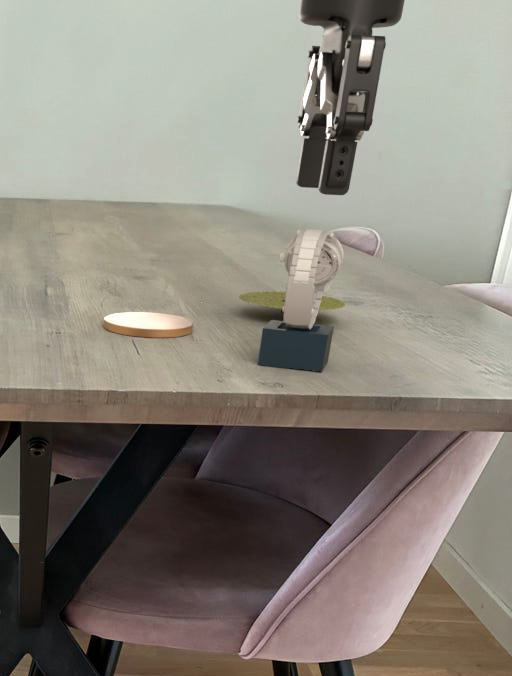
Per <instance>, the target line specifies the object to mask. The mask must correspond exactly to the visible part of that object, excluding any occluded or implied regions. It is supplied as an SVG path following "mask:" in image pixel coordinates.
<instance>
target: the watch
mask: <svg viewBox="0 0 512 676" xmlns="http://www.w3.org/2000/svg"><path fill="white" fill-rule="evenodd" d="M344 253H345V251H344V248H343V245H342V244H341V242H340V240H339V239H338V238H337V236H336V234H335V233H334V232H331V230H322V229H311V228H310V229H308V228H300V229H298V230H296V232H295V234H294V236H293V238H292V239H291V240H290V242H289V243H288V244H287V247H286V251H285V252H284V251H283V252H280V253H279V262H280V263H284V267H285V270H286V272H287V275H288V282H287V283H286V284H285V292H286V293H285V303H284V306H283V312H284V314H283V320H277V319H271V320H270V321H269V322H267V324H266V325H264V326H263V328H262V333H261V338H260V344H259V345H260V346H259V352H258V359H257V365H258V366H265V367H272V368H273V367H274V368H282V369H289V368H293V369H292V370H297V369H305V370H304V371H306V370H314V371H320V372H319V373H322V372H323V371H324V370H325V368H326V366H327V364H328V362H329V358H330V357H329V356H330V352H331V345H332V340H333V335H334V329H335V326H334V325H324V324H315V323H316V320H317V316H318V314H319V311H320V310H319V307H320V303H321V298H322V296H323V295H324V294H327V293H328V291H329V289H330V288H331V286H332V283H333V282H334V280H335V278H336V276H337V275H338V273H339V271H340V268H341V267H342V265H343V261H344V256H345V255H344ZM325 365H326V366H325ZM322 370H323V371H322ZM314 371H313V372H314Z"/></svg>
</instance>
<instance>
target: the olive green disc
mask: <svg viewBox="0 0 512 676" xmlns="http://www.w3.org/2000/svg"><path fill="white" fill-rule="evenodd" d="M285 293H286V291H281V290H280V291H275V290H274V291H251V292H246V293H245V292H244V293H241V294H239V295H238V298H239V299H240V300H241V301H243V302H245V303H247V304H252V305H258V306H260V307H261V306H262V307H265V308H276V309H280V312H279V313H280V314H283V315H284V312H283V306H284V303H285ZM345 306H346V303H345V302H344V301H342V300H340V299H337V298H335V297H331V296H327V295H325V296H323V295H322V298H321V303H320V307H319V310H318V311H324V312H325V311H326V310H327V311H330V310H337V309H342V308H344V307H345Z"/></svg>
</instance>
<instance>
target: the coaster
mask: <svg viewBox="0 0 512 676" xmlns="http://www.w3.org/2000/svg"><path fill="white" fill-rule="evenodd" d="M102 326H103V328H104V329H105V330H107V331H109V332H112V333H115V334H118V335H122V336H128V337H129V336H130V337H138V338H151V339H152V338H153V339H165V338H166V339H167V338H179V337H180V338H181V337H184V336H187V335H190V334H192V333H193V331H194V322H193V321H192V320H191V319H190V318H189V319H188V318H187V317H183V316H179V315H174V314H170V313H169V314H168V313H160V312H150V311H149V312H148V311H126V312H115V313H111V314H108V315H106V316H104V317H103V325H102Z"/></svg>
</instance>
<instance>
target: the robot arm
mask: <svg viewBox="0 0 512 676" xmlns="http://www.w3.org/2000/svg"><path fill="white" fill-rule="evenodd" d="M405 1H406V0H300V5H299V11H298V18H299V20H300V22H301V23H303V24H305V25H308V26H311V27H312V26H313V27H321V28H322V29H323V35H322V38H321V42H320V45H311V46H310V48H309V50H308V53H307V64H306V70H305V75H304V81H303V89H302V94H301V101H300V106H299V112H298V116H297V119H296V123H297V127H298V128H300V129H299V132H300V136H301V137H302V141H301V145H300V146H301V147H300V153H299V158H298V159H299V161H298V164H297V166H298V167H297V172H296V178H295V183H296V185H297V186H298V187H300V188H306V189H307V188H309V189H318V192H319V193H320V194H323V195H325V196H326V195H327V196H331V195H332V196H344V195H346V194H348V192H349V190H350V186H351V180H352V174H353V169H354V163H355V157H356V153H357V147H358V141H361V140H362V138H363V136H364V133H365V132H369V131H370V129H371V127H372V125H373V116H374V110H375V105H376V99H377V93H378V87H379V81H380V75H381V70H382V65H383V60H384V59H383V58H384V54H385V50H386V44H387V42H386V36H385V35H373V29H378V28H380V29H381V28H389V27H393V26H395V25H397V24H399V22H400V21H401V19H402V16H403V11H404V6H405Z"/></svg>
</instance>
